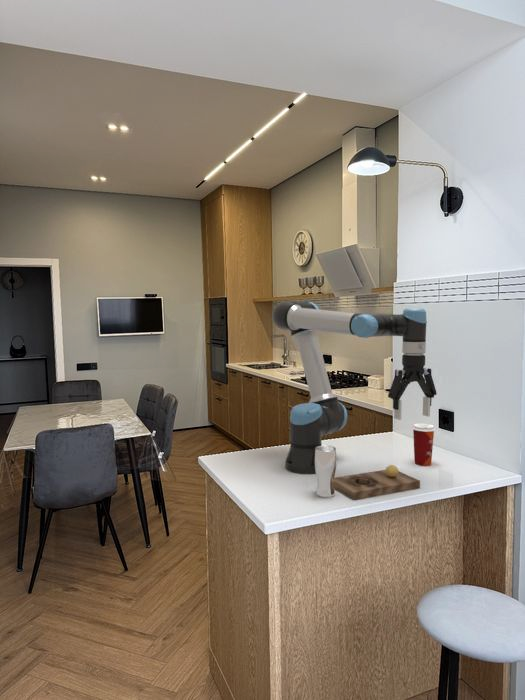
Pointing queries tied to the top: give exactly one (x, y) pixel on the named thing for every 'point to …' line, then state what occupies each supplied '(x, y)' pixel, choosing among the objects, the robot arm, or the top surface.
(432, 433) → the coffee cup
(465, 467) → the top surface
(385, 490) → the board
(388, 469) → the ball
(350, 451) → the top surface
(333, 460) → the beer glass
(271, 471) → the top surface
